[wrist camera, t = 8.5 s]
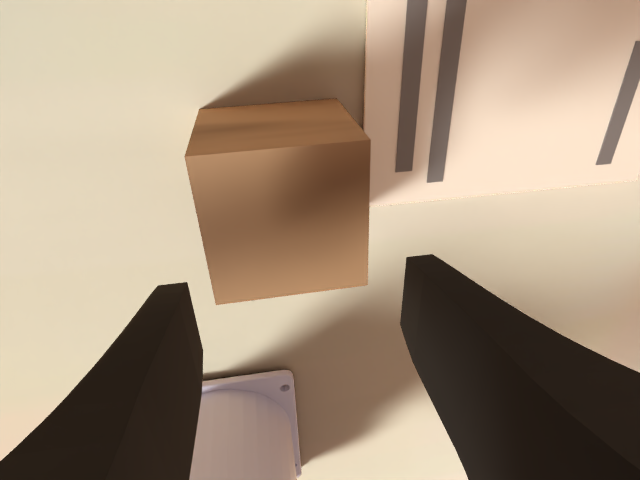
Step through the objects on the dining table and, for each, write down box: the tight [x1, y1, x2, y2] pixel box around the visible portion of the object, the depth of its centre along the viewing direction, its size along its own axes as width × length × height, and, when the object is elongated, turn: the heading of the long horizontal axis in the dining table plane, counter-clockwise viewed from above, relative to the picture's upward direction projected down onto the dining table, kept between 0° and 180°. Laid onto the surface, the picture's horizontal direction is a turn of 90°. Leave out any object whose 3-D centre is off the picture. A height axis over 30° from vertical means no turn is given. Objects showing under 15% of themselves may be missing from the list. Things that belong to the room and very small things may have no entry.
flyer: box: [363, 0, 640, 207], centre depth 17 cm, size 10×13×1 cm
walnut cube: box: [185, 98, 371, 305], centre depth 15 cm, size 5×5×5 cm
